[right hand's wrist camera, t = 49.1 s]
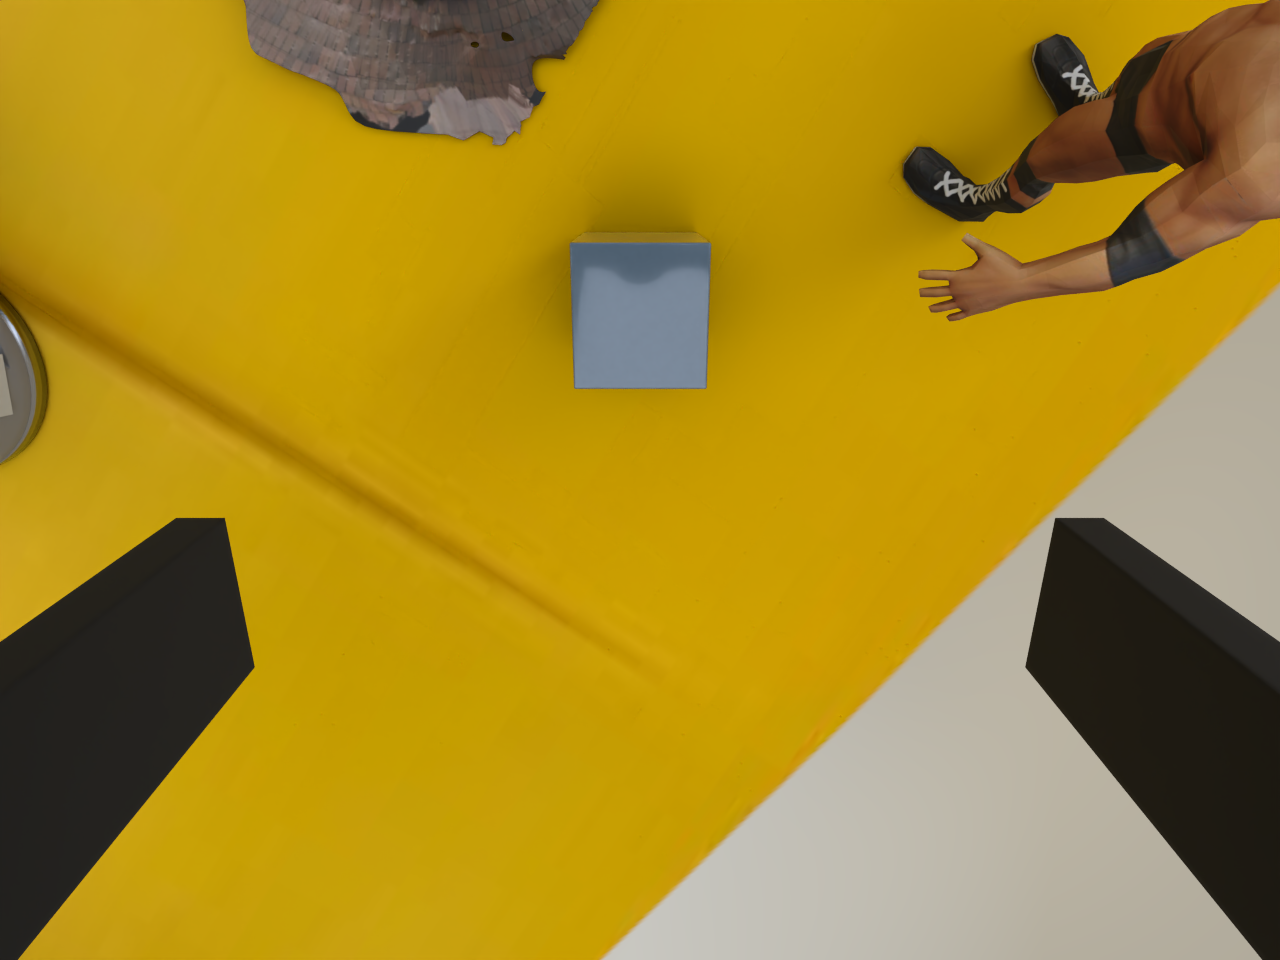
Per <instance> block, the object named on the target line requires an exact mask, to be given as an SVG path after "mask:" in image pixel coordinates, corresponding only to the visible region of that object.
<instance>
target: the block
mask: <svg viewBox="0 0 1280 960" xmlns="http://www.w3.org/2000/svg"><path fill="white" fill-rule="evenodd" d="M710 260H711V243H710V242H709V241H707V240H706V239H705V238H703V237H702V236H700V235H699V234H698V233H696V232H584V233H583V234H581V235H580V236H579V237H577V238H576V239H575V240H573V241H572V242H571V243H570V268H571V301H572V334H573V368H574V388H575V389H706V388H707V358H708V326H709V293H710Z"/></svg>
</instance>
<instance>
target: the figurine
mask: <svg viewBox="0 0 1280 960" xmlns="http://www.w3.org/2000/svg"><path fill="white" fill-rule="evenodd" d="M1032 63H1033V66H1034V69H1035V72H1036V75H1037V78H1038V80H1039V82H1040V83H1041V85H1042V87H1043V88H1044V90H1045V91H1046V93H1047V95H1048V96H1049V98H1050V100H1051V101H1052V103H1053V105H1054V107H1055V109H1056V111H1057V113H1058V115H1059V117H1058V118H1056V119H1055V120H1054V121H1053V122H1052V123H1051V124H1050V125H1049V126H1048V127H1047V128H1046V129H1045V130H1044V131H1043V132H1042V133H1041V134H1039V135H1038V136H1037V137H1036V138H1035V139H1034V140H1032V141H1031V142H1030V143H1029V145H1028V146H1027V147H1026V148H1025V149H1024V151H1023V152H1022V154H1021V155H1020V157H1019V158H1018V160H1017V161H1016V162H1015V163H1014V164H1013V165H1012V166H1011V167H1010V168H1009V169H1008V170H1007V171H1006V172H1005V173H1004V174H1002V175H1001V176H1000V177H999V178H997V179H996V180H994V181H992V182H990V183H989V184H985V185H975V184H974V183H973V182H972V181H971V180H970V179H969V178H967V177H964V176H963V175H962V174H961V173H960V172H959V171H958V170H957V169H956V168H955V166H954V165H953V164H952V163H951V162H950V161H949V160H947V159H946V158H945V157H943V156H942V155H940V154H939V153H938V152H936V151H935V150H933V149H932V148H931V147H915V148H914V149H913V151H912V152H911V154H910V155H909V156H908V158H907V159H906V161H905V162H904V164H903V169H904V179H905V181H906V182H907V184H908V185H909V187H910V188H911V190H912V192H913V193H914V194H915V195H916V196H918V197H919V198H920V199H922V200H923V201H924V202H926V203H927V204H929V205H931V206H932V207H934V208H936V209H938V210H940V211H941V212H943V213H945V214H947V215H949V216H950V217H952V218H954V219H956V220H958V221H978V222H983V221H984V220H985V219H986V218H987V217H988V216H990V215H991V214H992V213H993V212H995V211H999V212H1005V213H1022V212H1024V211H1026V210H1027V209H1029V208H1031V207H1033V206H1035V205H1036V204H1038V203H1040V202H1041V201H1042V200H1043V199H1044V198H1046V197H1047V196H1048V195H1049V194H1050V192H1051V190H1052V188H1053V186H1054V183H1083V182H1093V181H1098V180H1103V179H1107V178H1111V177H1116V176H1123V175H1131V174H1140V173H1149V172H1158V171H1160V170H1162V169H1164V168H1165V167H1167V166H1169V165H1171V164H1173V163H1177V164H1178V165H1180V166H1181V167H1182V168H1183V169H1184V171H1182V172H1181V173H1179V174H1178V175H1176V176H1175V177H1173V178H1171V179H1170V180H1168V181H1167V182H1165V183H1164V184H1163V185H1161V186H1160V187H1158V188H1157V189H1156V190H1154V191H1153V192H1152V193H1150V194H1149V195H1148V196H1147V197H1146V198H1145V199H1144V200H1142V201H1141V202H1140V203H1139V204H1138V205H1137V206H1136V207H1135V208H1134V209H1133V211H1132V212H1131V213H1130V214H1129V215H1128V217H1127V218H1126V219H1125V220H1124V221H1123V223H1122V224H1121V225H1120V226H1119V228H1118V229H1117V230H1116V231H1115V232H1114V233H1113V234H1112V235H1111V236H1109V237H1106V238H1104V239H1102V240H1100V241H1097V242H1094V243H1090V244H1086V245H1083V246H1079V247H1076V248H1074V249H1071V250H1068V251H1065V252H1063V253H1060V254H1057V255H1053V256H1049V257H1046V258H1043V259H1039V260H1036V261H1032V262H1028V263H1023V264H1022V263H1021V262H1019V261H1018V260H1016V259H1015V258H1013V257H1011V256H1010V255H1008V254H1007V253H1005V252H1003V251H1001V250H1000V249H998V248H996V247H994V246H992V245H989V244H987V243H984V242H982V241H981V240H979V239H977V238H975V237H973V236H971V235H970V234H968V233H967V234H966V235H965V236H964V238H963V239H962V241H963V242H964V243H965V244H966V245H968V246H969V247H970V248H971V249H973V250H974V251H975V253H976V255H977V257H978V260H977V261H976V262H975V263H974V264H973V265H972V266H970V267H968V268H964V269H960V270H956V271H950V270H923V271H919V278H922V279H926V280H949V285H948V286H940V287H928V288H922V289H919V292H920V297H943V296H952V297H953V299H950V300H947V301H944V302H940V303H936V304H933V305H931V306H929V309H930V311H931V312H935V313H936V312H942V311H947V310H951V309H955V308H959V309H961V310H962V311H960V312H956V313H952V314H949V315H948V316H947V319H948V320H949V321H956V320H960V319H963V318H966V317H968V316H972V315H975V314H978V313H983V312H988V311H992V310H995V309H998V308H1000V307H1003V306H1006V305H1009V304H1012V303H1016V302H1020V301H1025V300H1030V299H1036V298H1043V297H1051V296H1058V295H1067V294H1077V293H1088V292H1097V291H1105V290H1108V289H1111V288H1114V287H1116V286H1119V285H1122V284H1124V283H1127V282H1129V281H1131V280H1134V279H1137V278H1141V277H1144V276H1148V275H1151V274H1155V273H1158V272H1161V271H1163V270H1165V269H1168V268H1170V267H1172V266H1174V265H1176V264H1178V263H1180V262H1182V261H1184V260H1186V259H1188V258H1189V257H1191V256H1193V255H1195V254H1197V253H1199V252H1201V251H1202V250H1204V249H1206V248H1209V247H1212V246H1214V245H1217V244H1220V243H1222V242H1225V241H1228V240H1230V239H1233V238H1235V237H1238V236H1240V235H1241V234H1243V233H1244V232H1246V231H1247V230H1248V229H1250V228H1251V227H1252V226H1254V225H1255V224H1256V223H1258V222H1259V221H1261V220H1268V219H1275V218H1280V0H1269V1H1267V2H1265V3H1261V4H1250V5H1243V6H1238V7H1233V8H1228V9H1226V10H1224V11H1222V12H1220V13H1218V14H1216V15H1213V16H1211V17H1210V18H1208V19H1207V20H1206V21H1204V22H1203V23H1201V24H1200V25H1199V26H1197V27H1196V28H1194V29H1193V30H1190V31H1186V32H1182V33H1177V34H1173V35H1168V36H1164V37H1159V38H1157V39H1155V40H1153V41H1151V42H1150V43H1148V44H1146V45H1145V46H1144V47H1143V48H1142V49H1141V50H1140V51H1139V52H1138V53H1137V54H1136V55H1135V56H1134V57H1133V58H1132V59H1131V60H1129V61H1128V63H1127V64H1126V66H1125V67H1124V68H1123V70H1122V72H1121V73H1120V75H1119V77H1118V78H1117V79H1116V80H1115V81H1114V82H1113V84H1112V85H1111V86H1109V87H1108V88H1107V89H1106V90H1105V91H1104V92H1102V93H1099V92H1098V90H1097V88H1096V86H1095V84H1094V82H1093V79H1092V76H1091V73H1090V70H1089V68H1088V65H1087V62H1086V59H1085V57H1084V55H1083V54H1082V52H1081V51H1080V50H1079V49H1078V48H1077V47H1076V45H1075V44H1074V43H1073V42H1072V41H1071V39H1070V38H1069V37H1066V36H1062V35H1059V34H1055V35H1053V36H1051V37H1049V38H1047V39H1045V40H1043V41H1041V42H1039V43H1037V44H1035V48H1034V52H1033V56H1032Z"/></svg>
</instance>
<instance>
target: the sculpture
mask: <svg viewBox="0 0 1280 960" xmlns="http://www.w3.org/2000/svg"><path fill="white" fill-rule="evenodd" d="M598 1H599V0H244V2H245V4H246V14H247V29H248V36H249V41H250V44H251V48H252V49H253V50H254V52H255V53H256V54H257V55H259V56H261V57H264V58H266V59H268V60H270V61H272V62H274V63H276V64H278V65H280V66H282V67H284V68H286V69H289V70H291V71H294V72H297V73H300V74H302V75H305V76H308V77H310V78H312V79H315V80H317V81H320V82H322V83H324V84H326V85H328V86H330V87H332V88H334V89H335V90H336V91H337V92H338V93H339V94H340V95H341V97H342V99H343V100H344V102H345V104H346V107H347V109H348V111H349V112H350V114H351V116H352V117H353V118H354V119H355V121H357V122H359V123H361V124H362V125H364V126H367V127H371V128H375V129H382V130H389V131H400V132H415V133H432V134H448V135H450V136H453V137H456V138H459V139H461V140H465V139H467V138H468V137H470V136H472V135H474V134H475V133H477V132H479V131H480V132H483V133H485V134H487V135H489V136H492V137H494V138H493V144H496V145H502V144H504V143H506V138H507V137H508V136H509V135H510V134H512V133H513V132H514V131H516V132H517V133H519V134H520V127H521V123H520V121H522V120H524V119H526V118H529V117H530V114H531V111H532V108H533V107H534V106H536V105H538V104H539V103H540V101H541V99H542V97H543V95H544V94H545V92H539V91H538V90H537V89H536V87H535V85H534V82H533V78H532V65H533V63H534V61H536V60H537V59H540V58H556V59H563V60H564V59H565V57H564V56H563V55H562V54H567V53H566V52H565V51H566V50H567V49H568V47H569V46H571V45H572V44H573V42H574V41H575V39H576V37H578V34H579V31H580V30H582V28H583V26H584V23H585V21H586V19H587V18H588V17H589V16H590V14H591V12H592V8H593V7H594V6H596V5H597V2H598ZM502 32H506V33H508V34H510V35H511V36H512V37H513V38H514V40H513V41H504V40H503V39H502V37H501V34H502ZM474 41H475V42H478V43H479V46H478V47H476V48H474V47H472V46H471V43H472V42H474Z"/></svg>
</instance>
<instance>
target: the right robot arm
mask: <svg viewBox="0 0 1280 960" xmlns="http://www.w3.org/2000/svg"><path fill="white" fill-rule="evenodd" d="M46 402H47V383H46V375H45V370H44V366H43V362H42V358H41V356H40V353H39V350H38V348H37V345H36V343H35V341H34V339H33V337H32V335H31V333H30V332H29V330H28V328H27V326H26V325H25V323H24V322H23V320H22V319H21V317H20V316H19V314H18V313H17V312H16V311H15V310H14V308H13V307H12V306H11V305H10V303H9V302H8V301H7V300H6V299H5V298H4V297H3V296H2V295H1V294H0V464H2V463H5V462H7V461H9V460H10V459H12V458H14V457H15V456H17V455H18V454H19V453H20V452H22V451H23V450H24V449H25V448H26V447H27V446H28V445H29V444H30V442H31V441H32V440H33V438H34V437H35V435H36V433H37V432H38V430H39V428H40V425H41V423H42V421H43V417H44V414H45V409H46ZM254 667H255V666H254V662H253V657H252V652H251V647H250V642H249V637H248V632H247V627H246V622H245V617H244V612H243V607H242V602H241V597H240V592H239V587H238V582H237V577H236V572H235V567H234V562H233V557H232V552H231V547H230V542H229V537H228V532H227V527H226V522H225V518H176V519H174V520H173V521H171V522H170V523H169V524H167V525H166V526H164V527H163V528H161V529H160V530H159V531H157V532H156V533H154V534H153V535H151V536H150V537H149V538H147V539H146V540H144V541H143V542H142V543H140V544H139V545H137V546H136V547H134V548H133V549H132V550H130V551H129V552H127V553H126V554H125V555H123V556H122V557H120V558H119V559H117V560H116V561H115V562H113V563H112V564H110V565H109V566H107V567H106V568H105V569H103V570H102V571H100V572H99V573H98V574H96V575H95V576H93V577H92V578H90V579H89V580H88V581H86V582H85V583H83V584H82V585H80V586H79V587H78V588H76V589H75V590H73V591H72V592H71V593H69V594H68V595H66V596H65V597H63V598H62V599H61V600H59V601H58V602H56V603H55V604H54V605H52V606H51V607H49V608H48V609H46V610H45V611H44V612H42V613H41V614H39V615H38V616H36V617H35V618H34V619H32V620H31V621H29V622H28V623H27V624H25V625H24V626H22V627H21V628H19V629H18V630H17V631H15V632H14V633H12V634H11V635H9V636H8V637H7V638H5V639H4V640H2V641H1V642H0V960H18V959H19V957H20V956H21V955H22V954H23V952H24V951H25V950H26V949H27V948H28V946H29V945H30V944H31V943H32V941H33V940H34V939H35V938H36V936H37V935H38V934H39V933H40V932H41V930H42V929H43V928H44V927H45V925H46V924H47V923H48V922H49V920H50V919H51V918H52V917H53V915H54V914H55V913H56V912H57V911H58V909H59V908H60V907H61V906H62V904H63V903H64V902H65V901H66V899H67V898H68V897H69V896H70V894H71V893H72V892H73V891H74V890H75V888H76V887H77V886H78V885H79V883H80V882H81V881H82V880H83V878H84V877H85V876H86V875H87V873H88V872H89V871H90V870H91V869H92V867H93V866H94V865H95V864H96V862H97V861H98V860H99V859H100V857H101V856H102V855H103V854H104V852H105V851H106V850H107V849H108V848H109V846H110V845H111V844H112V843H113V841H114V840H115V839H116V838H117V836H118V835H119V834H120V833H121V832H122V830H123V829H124V828H125V827H126V825H127V824H128V823H129V822H130V820H131V819H132V818H133V817H134V815H135V814H136V813H137V812H138V811H139V809H140V808H141V807H142V806H143V804H144V803H145V802H146V801H147V799H148V798H149V797H150V796H151V794H152V793H153V792H154V791H155V790H156V788H157V787H158V786H159V785H160V783H161V782H162V781H163V780H164V778H165V777H166V776H167V775H168V773H169V772H170V771H171V770H172V769H173V767H174V766H175V765H176V764H177V762H178V761H179V760H180V759H181V757H182V756H183V755H184V754H185V753H186V751H187V750H188V749H189V748H190V746H191V745H192V744H193V743H194V741H195V740H196V739H197V738H198V736H199V735H200V734H201V733H202V732H203V730H204V729H205V728H206V727H207V725H208V724H209V723H210V722H211V720H212V719H213V718H214V717H215V715H216V714H217V713H218V712H219V711H220V709H221V708H222V707H223V706H224V704H225V703H226V702H227V701H228V699H229V698H230V697H231V696H232V694H233V693H234V692H235V691H236V690H237V688H238V687H239V686H240V685H241V683H242V682H243V681H244V680H245V678H246V677H247V676H248V675H249V673H250V672H251V671H252V670H253V669H254ZM1026 669H1027V670H1028V671H1029V672H1030V674H1031V675H1032V676H1033V677H1034V678H1035V680H1036V681H1037V682H1038V683H1039V685H1040V686H1041V687H1042V688H1043V690H1044V691H1045V692H1046V693H1047V694H1048V696H1049V697H1050V698H1051V699H1052V701H1053V702H1054V703H1055V704H1056V706H1057V707H1058V708H1059V709H1060V711H1061V712H1062V713H1063V714H1064V715H1065V717H1066V718H1067V719H1068V720H1069V722H1070V723H1071V724H1072V725H1073V727H1074V728H1075V729H1076V730H1077V732H1078V733H1079V734H1080V735H1081V736H1082V738H1083V739H1084V740H1085V741H1086V743H1087V744H1088V745H1089V746H1090V748H1091V749H1092V750H1093V751H1094V752H1095V754H1096V755H1097V756H1098V757H1099V759H1100V760H1101V761H1102V762H1103V764H1104V765H1105V766H1106V767H1107V769H1108V770H1109V771H1110V772H1111V773H1112V775H1113V776H1114V777H1115V778H1116V780H1117V781H1118V782H1119V783H1120V785H1121V786H1122V787H1123V788H1124V789H1125V791H1126V792H1127V793H1128V794H1129V796H1130V797H1131V798H1132V799H1133V801H1134V802H1135V803H1136V804H1137V806H1138V807H1139V808H1140V809H1141V811H1142V812H1143V813H1144V814H1145V815H1146V817H1147V818H1148V819H1149V820H1150V822H1151V823H1152V824H1153V825H1154V826H1155V828H1156V829H1157V830H1158V832H1159V833H1160V834H1161V835H1162V836H1163V838H1164V839H1165V840H1166V841H1167V843H1168V844H1169V845H1170V846H1171V848H1172V849H1173V850H1174V851H1175V852H1176V854H1177V855H1178V856H1179V857H1180V859H1181V860H1182V861H1183V862H1184V864H1185V865H1186V866H1187V867H1188V868H1189V870H1190V871H1191V872H1192V873H1193V875H1194V876H1195V877H1196V878H1197V880H1198V881H1199V882H1200V883H1201V884H1202V886H1203V887H1204V888H1205V890H1206V891H1207V892H1208V893H1209V894H1210V896H1211V897H1212V898H1213V899H1214V901H1215V902H1216V903H1217V904H1218V906H1219V907H1220V908H1221V909H1222V910H1223V912H1224V913H1225V914H1226V915H1227V917H1228V918H1229V919H1230V920H1231V922H1232V923H1233V924H1234V925H1235V927H1236V928H1237V929H1238V930H1239V931H1240V933H1241V934H1242V935H1243V936H1244V938H1245V939H1246V940H1247V941H1248V943H1249V944H1250V945H1251V946H1252V948H1253V949H1254V950H1255V951H1256V952H1257V954H1258V955H1259V956H1260V957H1261V959H1262V960H1280V642H1279V641H1278V640H1276V639H1275V638H1273V637H1272V636H1270V635H1269V634H1268V633H1266V632H1265V631H1263V630H1262V629H1260V628H1259V627H1258V626H1256V625H1255V624H1253V623H1252V622H1251V621H1249V620H1248V619H1246V618H1245V617H1244V616H1242V615H1241V614H1239V613H1238V612H1236V611H1235V610H1234V609H1232V608H1231V607H1229V606H1228V605H1226V604H1225V603H1224V602H1222V601H1221V600H1219V599H1218V598H1216V597H1215V596H1214V595H1212V594H1211V593H1209V592H1208V591H1207V590H1205V589H1204V588H1202V587H1201V586H1200V585H1198V584H1197V583H1195V582H1194V581H1192V580H1191V579H1190V578H1188V577H1187V576H1185V575H1184V574H1182V573H1181V572H1180V571H1178V570H1177V569H1175V568H1174V567H1173V566H1171V565H1170V564H1168V563H1167V562H1165V561H1164V560H1163V559H1161V558H1160V557H1158V556H1157V555H1155V554H1154V553H1153V552H1151V551H1150V550H1148V549H1147V548H1145V547H1144V546H1143V545H1141V544H1140V543H1138V542H1137V541H1136V540H1134V539H1133V538H1131V537H1130V536H1129V535H1127V534H1126V533H1124V532H1123V531H1121V530H1120V529H1119V528H1117V527H1116V526H1114V525H1113V524H1111V523H1110V522H1109V521H1107V520H1106V519H1104V518H1055V522H1054V527H1053V532H1052V537H1051V542H1050V547H1049V552H1048V557H1047V562H1046V567H1045V572H1044V577H1043V582H1042V587H1041V592H1040V597H1039V602H1038V607H1037V612H1036V617H1035V622H1034V627H1033V632H1032V637H1031V642H1030V647H1029V652H1028V657H1027V662H1026Z"/></svg>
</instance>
